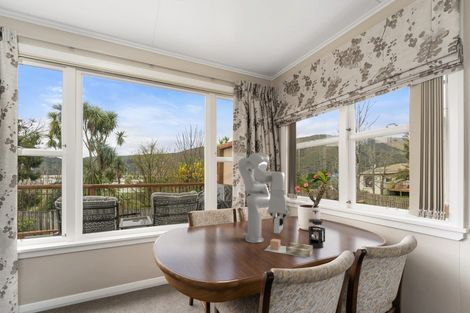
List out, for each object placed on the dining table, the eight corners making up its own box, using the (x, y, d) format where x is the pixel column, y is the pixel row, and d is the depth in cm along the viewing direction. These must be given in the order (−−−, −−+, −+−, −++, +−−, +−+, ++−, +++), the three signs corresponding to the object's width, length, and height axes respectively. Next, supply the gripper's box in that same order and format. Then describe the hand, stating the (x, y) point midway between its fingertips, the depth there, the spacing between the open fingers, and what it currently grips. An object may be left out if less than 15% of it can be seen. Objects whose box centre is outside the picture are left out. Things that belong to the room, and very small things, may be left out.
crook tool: (274, 232, 134) (274, 218, 135) (279, 228, 145) (279, 215, 146) (279, 233, 133) (279, 219, 134) (284, 228, 144) (284, 215, 144)
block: (270, 249, 146) (270, 240, 146) (272, 246, 150) (272, 238, 150) (278, 250, 143) (278, 241, 144) (280, 247, 148) (280, 239, 148)
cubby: (286, 253, 139) (286, 247, 139) (290, 247, 148) (290, 242, 148) (309, 257, 133) (309, 250, 133) (312, 251, 142) (312, 245, 142)
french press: (312, 249, 146) (312, 212, 148) (304, 244, 156) (304, 209, 157) (328, 248, 149) (328, 211, 150) (320, 243, 158) (319, 209, 159)
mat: (264, 250, 144) (264, 250, 144) (270, 244, 155) (270, 244, 155) (309, 258, 132) (309, 258, 132) (313, 251, 143) (313, 250, 143)
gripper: (262, 192, 138) (262, 224, 137) (290, 194, 131) (290, 228, 130) (266, 191, 145) (266, 222, 144) (293, 193, 138) (293, 225, 137)
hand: (278, 224), depth 137 cm, fingers closed on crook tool, 3 cm apart
